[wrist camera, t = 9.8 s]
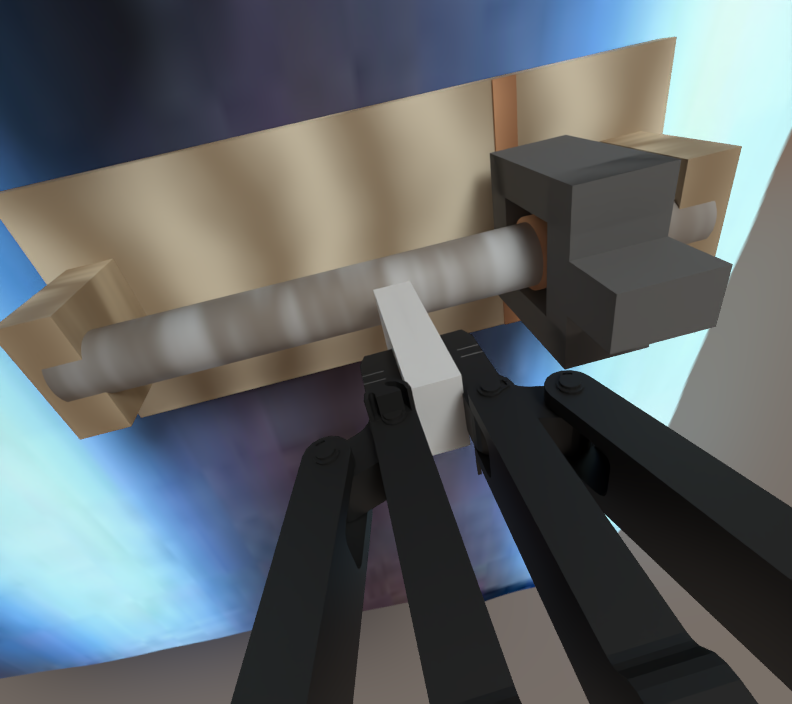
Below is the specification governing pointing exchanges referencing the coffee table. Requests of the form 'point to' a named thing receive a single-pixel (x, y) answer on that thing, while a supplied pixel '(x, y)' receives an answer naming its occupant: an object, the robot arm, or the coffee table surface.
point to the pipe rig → (315, 236)
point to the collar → (604, 249)
